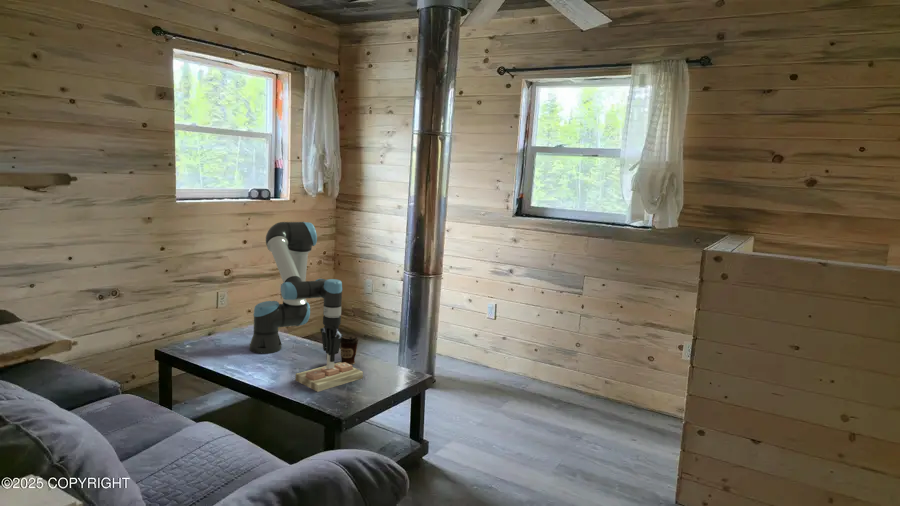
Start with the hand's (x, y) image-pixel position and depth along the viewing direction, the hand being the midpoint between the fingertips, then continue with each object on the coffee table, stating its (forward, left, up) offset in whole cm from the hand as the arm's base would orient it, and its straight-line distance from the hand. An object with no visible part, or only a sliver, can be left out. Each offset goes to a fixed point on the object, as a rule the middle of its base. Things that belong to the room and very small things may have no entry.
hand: (330, 368), depth 241 cm
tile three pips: (0, +8, -5) cm, 9 cm away
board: (0, 0, -5) cm, 5 cm away
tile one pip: (0, -7, -5) cm, 9 cm away
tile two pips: (0, 0, -5) cm, 5 cm away
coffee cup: (-11, +19, -5) cm, 23 cm away
